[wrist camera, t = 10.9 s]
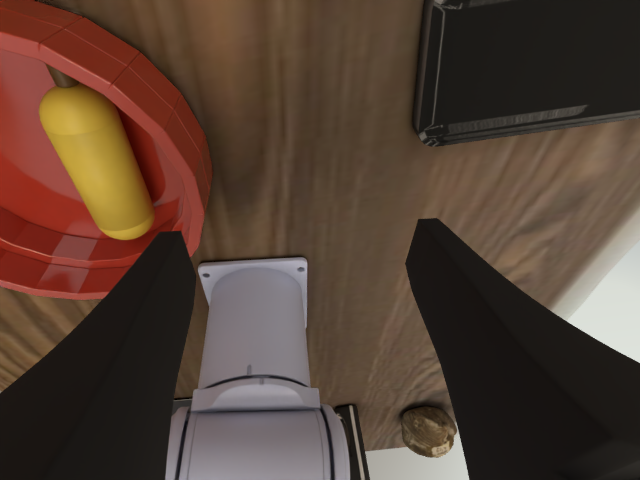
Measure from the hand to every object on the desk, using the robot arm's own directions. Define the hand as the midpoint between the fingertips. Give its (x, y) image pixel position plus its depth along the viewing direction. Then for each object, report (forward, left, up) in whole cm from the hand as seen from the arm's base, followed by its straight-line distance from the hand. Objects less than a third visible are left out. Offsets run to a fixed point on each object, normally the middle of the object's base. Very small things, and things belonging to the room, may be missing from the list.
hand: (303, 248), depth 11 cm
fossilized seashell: (-47, -19, -11) cm, 52 cm away
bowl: (-2, +12, -10) cm, 16 cm away
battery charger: (-44, -6, -11) cm, 46 cm away
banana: (-2, +11, -8) cm, 14 cm away
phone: (+3, -14, -10) cm, 18 cm away
